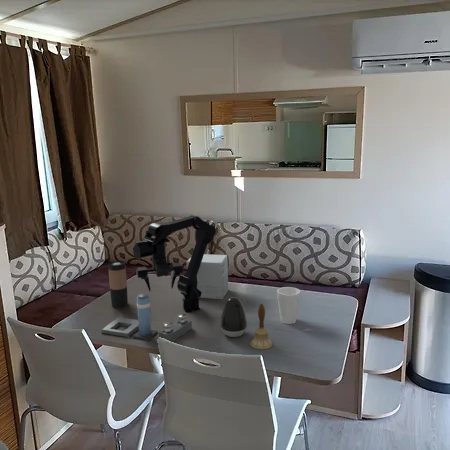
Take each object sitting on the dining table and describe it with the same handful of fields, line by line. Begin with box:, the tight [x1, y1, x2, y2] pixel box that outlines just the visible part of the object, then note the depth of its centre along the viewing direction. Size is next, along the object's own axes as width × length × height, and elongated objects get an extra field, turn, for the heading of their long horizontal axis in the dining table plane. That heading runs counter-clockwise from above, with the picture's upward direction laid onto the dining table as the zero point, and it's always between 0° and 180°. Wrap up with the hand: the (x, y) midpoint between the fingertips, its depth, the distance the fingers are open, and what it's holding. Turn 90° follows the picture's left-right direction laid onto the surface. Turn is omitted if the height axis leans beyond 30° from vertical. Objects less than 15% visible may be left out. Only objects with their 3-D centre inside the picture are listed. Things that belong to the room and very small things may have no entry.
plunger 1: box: [162, 321, 173, 334], centre depth 173 cm, size 4×4×4 cm
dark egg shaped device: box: [220, 296, 248, 338], centre depth 175 cm, size 10×10×15 cm
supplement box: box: [186, 253, 229, 300], centre depth 217 cm, size 17×13×18 cm
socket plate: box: [101, 316, 139, 338], centre depth 183 cm, size 12×12×2 cm
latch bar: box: [157, 319, 193, 342], centre depth 177 cm, size 14×5×3 cm, turn 148°
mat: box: [132, 329, 159, 341], centre depth 177 cm, size 7×7×1 cm
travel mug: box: [107, 260, 129, 308], centre depth 205 cm, size 8×8×20 cm
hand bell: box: [249, 303, 273, 351], centre depth 166 cm, size 8×8×16 cm
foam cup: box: [276, 286, 301, 325], centre depth 186 cm, size 10×9×13 cm
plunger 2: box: [177, 313, 188, 324], centre depth 181 cm, size 4×4×4 cm
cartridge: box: [136, 293, 152, 336], centre depth 175 cm, size 5×5×16 cm
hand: (160, 289), depth 189 cm, fingers open, 9 cm apart
